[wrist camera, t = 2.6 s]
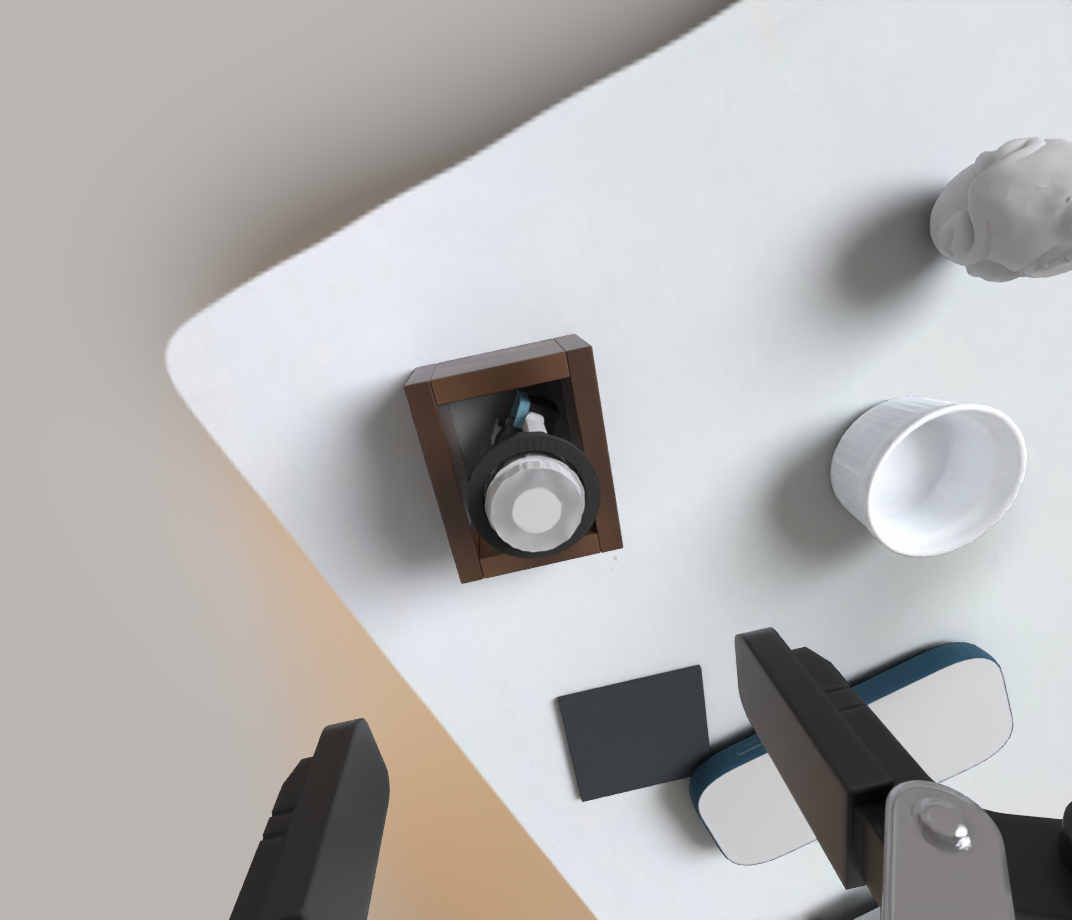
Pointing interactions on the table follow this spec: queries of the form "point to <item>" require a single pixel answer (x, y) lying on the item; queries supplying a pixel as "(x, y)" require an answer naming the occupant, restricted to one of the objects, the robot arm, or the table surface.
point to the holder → (444, 458)
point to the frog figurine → (1009, 212)
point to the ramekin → (928, 472)
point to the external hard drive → (910, 715)
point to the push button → (532, 485)
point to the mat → (637, 732)
